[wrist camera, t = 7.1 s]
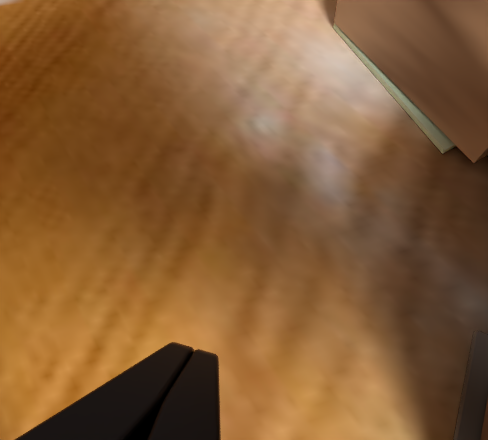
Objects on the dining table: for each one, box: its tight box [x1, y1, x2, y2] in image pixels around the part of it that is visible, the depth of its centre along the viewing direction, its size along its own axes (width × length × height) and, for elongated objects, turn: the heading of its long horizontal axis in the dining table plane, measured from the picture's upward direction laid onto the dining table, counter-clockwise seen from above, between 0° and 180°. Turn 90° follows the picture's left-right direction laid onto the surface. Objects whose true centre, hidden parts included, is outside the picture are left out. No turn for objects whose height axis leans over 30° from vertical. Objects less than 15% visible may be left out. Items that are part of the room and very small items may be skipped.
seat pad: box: [333, 23, 456, 154], centre depth 19 cm, size 8×4×1 cm, turn 29°
